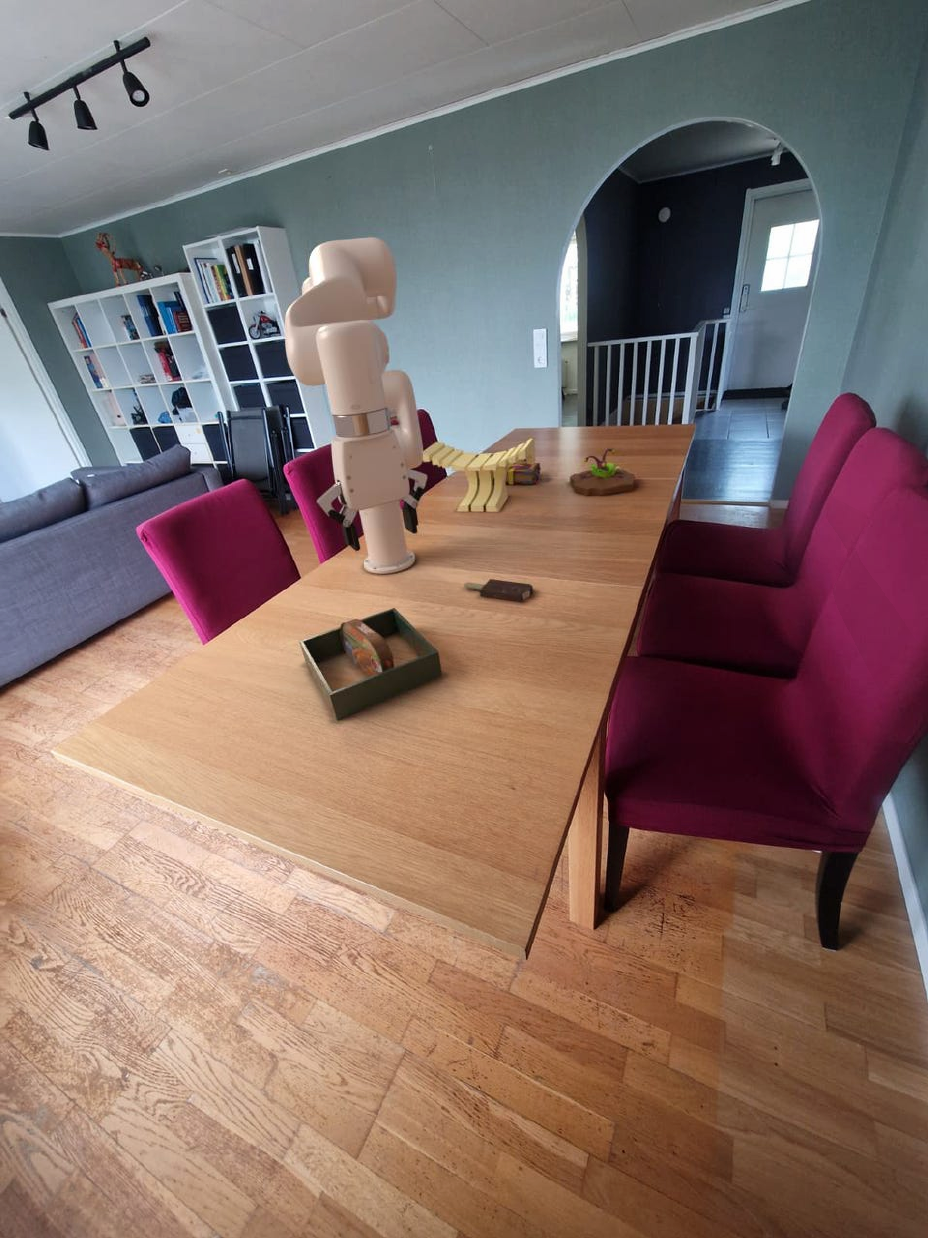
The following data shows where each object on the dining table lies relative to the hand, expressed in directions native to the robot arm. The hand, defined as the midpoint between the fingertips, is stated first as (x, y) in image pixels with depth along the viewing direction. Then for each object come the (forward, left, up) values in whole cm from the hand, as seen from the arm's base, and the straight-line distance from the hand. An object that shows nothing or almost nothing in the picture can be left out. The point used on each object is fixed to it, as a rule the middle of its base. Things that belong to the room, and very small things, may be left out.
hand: (383, 539), depth 80 cm
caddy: (0, -7, -22) cm, 23 cm away
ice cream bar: (-9, +25, -22) cm, 35 cm away
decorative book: (-73, +75, -22) cm, 107 cm away
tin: (0, -7, -22) cm, 23 cm away
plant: (-47, +90, -22) cm, 104 cm away
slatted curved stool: (-61, +54, -22) cm, 85 cm away
